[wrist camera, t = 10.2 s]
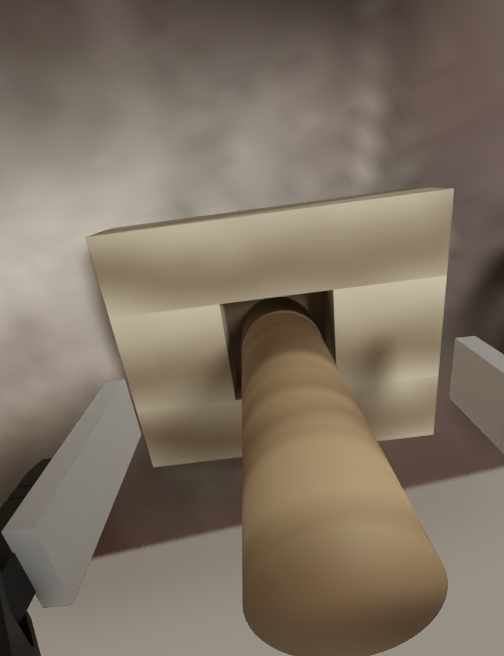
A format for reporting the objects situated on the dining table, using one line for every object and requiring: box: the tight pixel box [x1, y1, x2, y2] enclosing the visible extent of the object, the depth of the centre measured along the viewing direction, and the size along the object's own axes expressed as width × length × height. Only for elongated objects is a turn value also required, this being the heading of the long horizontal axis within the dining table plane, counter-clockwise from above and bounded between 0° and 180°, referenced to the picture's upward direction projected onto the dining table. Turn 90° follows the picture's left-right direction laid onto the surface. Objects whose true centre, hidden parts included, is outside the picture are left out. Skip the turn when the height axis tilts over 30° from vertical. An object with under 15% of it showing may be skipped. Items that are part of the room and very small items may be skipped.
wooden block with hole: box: [85, 188, 454, 467], centre depth 19 cm, size 13×16×4 cm
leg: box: [241, 296, 448, 656], centre depth 13 cm, size 4×4×14 cm
